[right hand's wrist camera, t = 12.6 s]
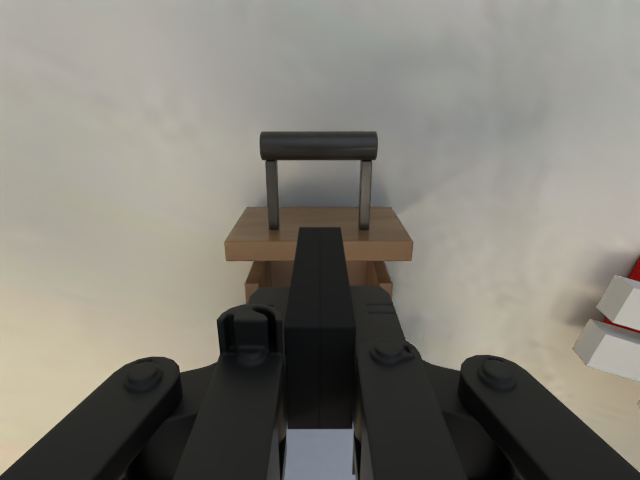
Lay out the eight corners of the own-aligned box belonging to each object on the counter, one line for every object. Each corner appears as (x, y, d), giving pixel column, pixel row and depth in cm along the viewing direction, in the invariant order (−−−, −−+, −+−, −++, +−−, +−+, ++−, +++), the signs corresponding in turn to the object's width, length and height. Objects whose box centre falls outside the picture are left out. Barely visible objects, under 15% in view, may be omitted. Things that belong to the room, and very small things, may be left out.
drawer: (240, 124, 26) (214, 135, 20) (396, 125, 26) (422, 135, 20) (260, 413, 34) (246, 488, 28) (378, 413, 34) (392, 488, 28)
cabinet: (248, 315, 32) (223, 394, 24) (389, 315, 32) (414, 394, 24) (261, 491, 39) (245, 600, 31) (377, 491, 39) (393, 600, 31)
